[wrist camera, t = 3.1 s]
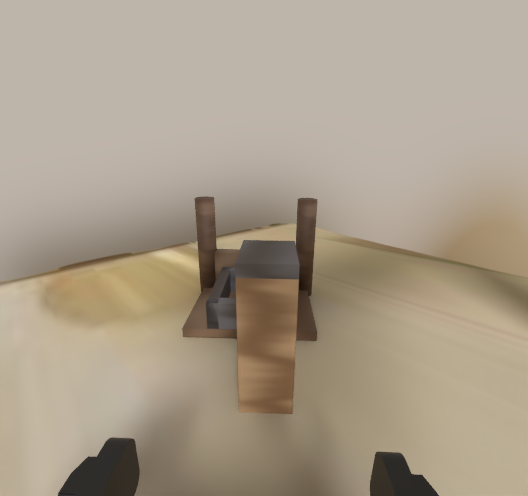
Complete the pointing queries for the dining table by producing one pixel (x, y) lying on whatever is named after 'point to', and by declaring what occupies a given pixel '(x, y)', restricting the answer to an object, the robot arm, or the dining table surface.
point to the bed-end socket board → (224, 278)
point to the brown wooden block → (266, 325)
